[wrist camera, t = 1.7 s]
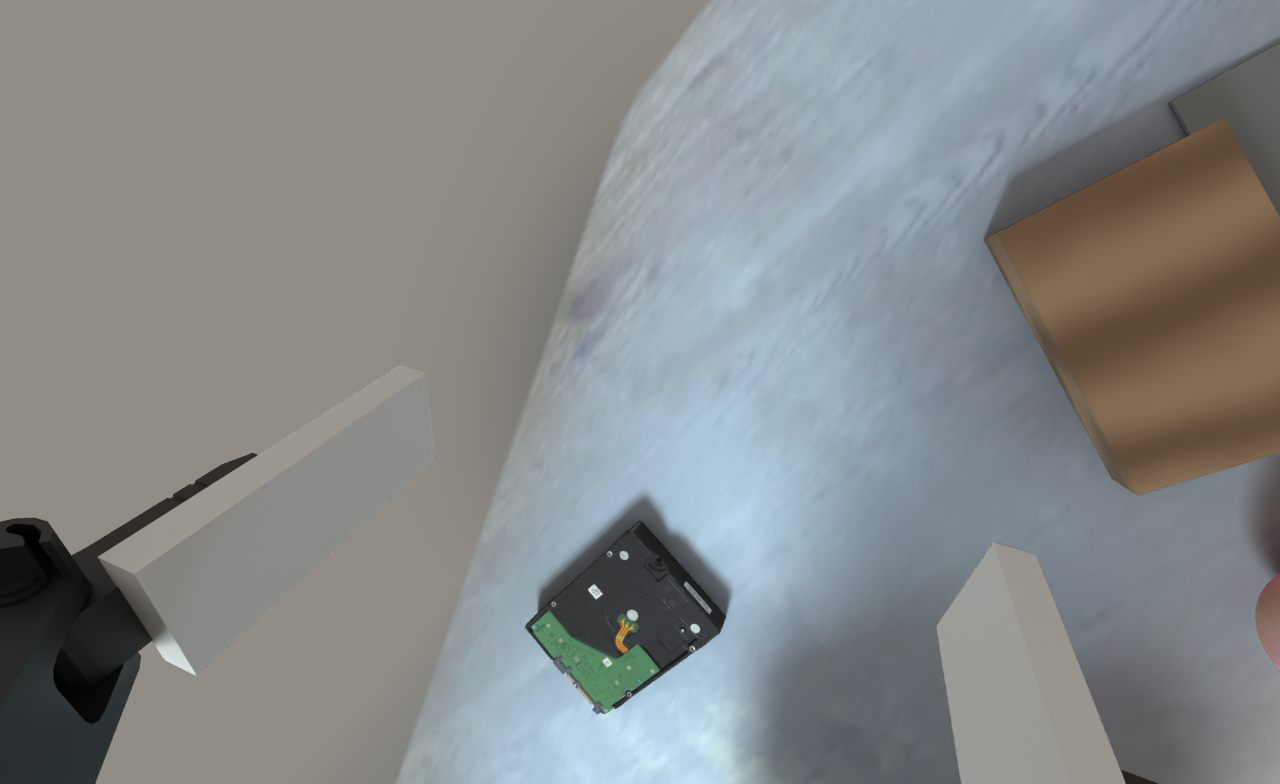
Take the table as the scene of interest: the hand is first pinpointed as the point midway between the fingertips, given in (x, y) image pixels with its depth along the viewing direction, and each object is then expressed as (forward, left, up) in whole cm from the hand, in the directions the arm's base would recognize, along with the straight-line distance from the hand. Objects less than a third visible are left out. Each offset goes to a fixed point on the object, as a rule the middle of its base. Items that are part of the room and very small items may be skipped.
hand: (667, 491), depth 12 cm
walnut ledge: (-6, -19, -27) cm, 33 cm away
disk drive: (-13, +21, -27) cm, 37 cm away
